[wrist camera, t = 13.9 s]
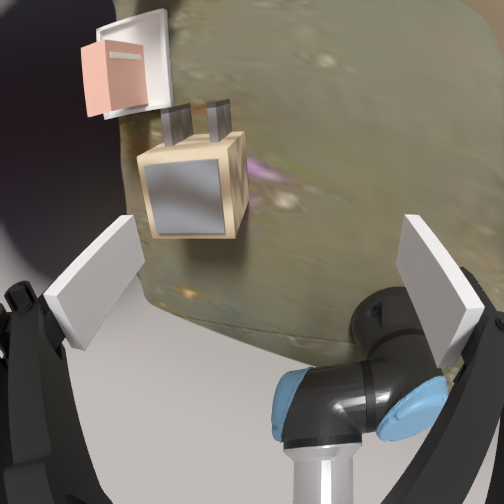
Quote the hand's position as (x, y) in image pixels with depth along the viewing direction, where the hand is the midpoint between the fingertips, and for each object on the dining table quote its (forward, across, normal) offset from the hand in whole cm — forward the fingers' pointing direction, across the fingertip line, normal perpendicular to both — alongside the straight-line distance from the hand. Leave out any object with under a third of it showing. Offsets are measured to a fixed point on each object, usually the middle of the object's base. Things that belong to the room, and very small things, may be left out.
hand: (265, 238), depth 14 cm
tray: (+29, +20, -13) cm, 37 cm away
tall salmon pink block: (+28, +20, -11) cm, 36 cm away
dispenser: (+29, +10, +2) cm, 30 cm away
